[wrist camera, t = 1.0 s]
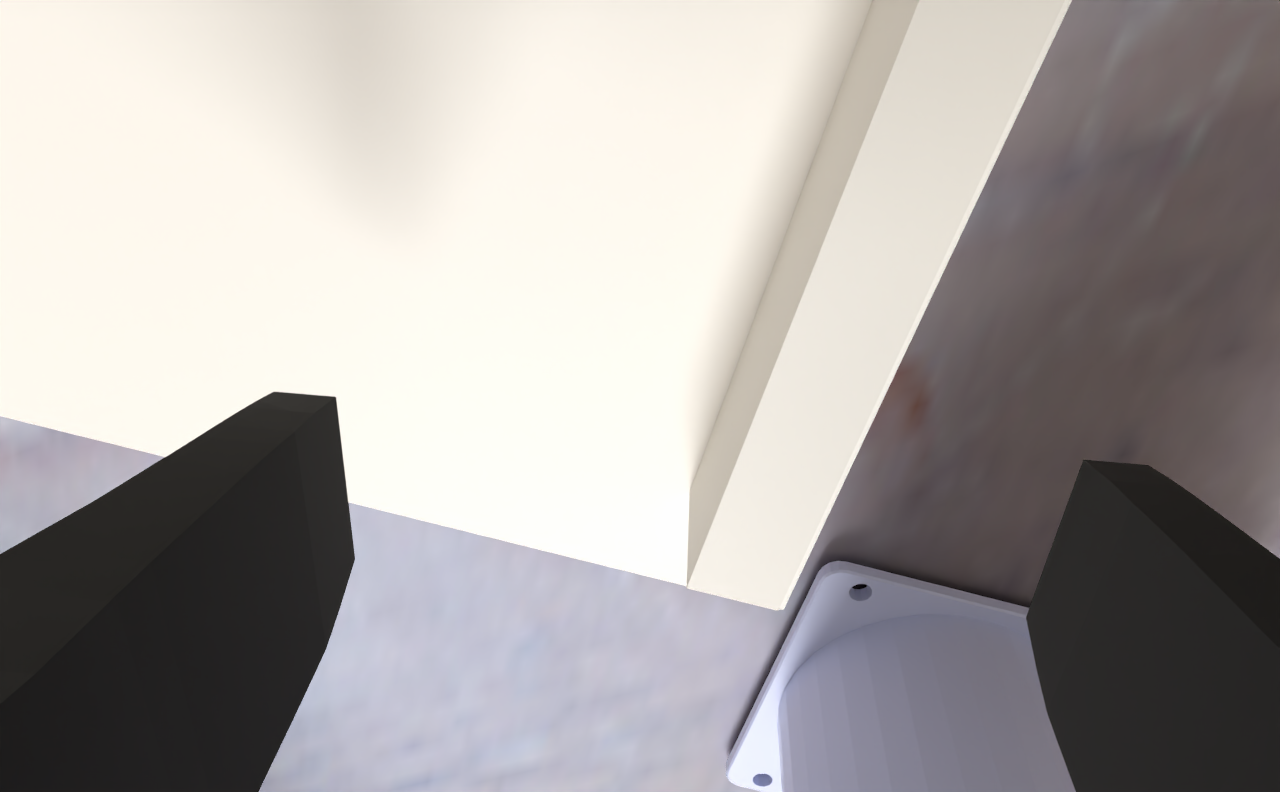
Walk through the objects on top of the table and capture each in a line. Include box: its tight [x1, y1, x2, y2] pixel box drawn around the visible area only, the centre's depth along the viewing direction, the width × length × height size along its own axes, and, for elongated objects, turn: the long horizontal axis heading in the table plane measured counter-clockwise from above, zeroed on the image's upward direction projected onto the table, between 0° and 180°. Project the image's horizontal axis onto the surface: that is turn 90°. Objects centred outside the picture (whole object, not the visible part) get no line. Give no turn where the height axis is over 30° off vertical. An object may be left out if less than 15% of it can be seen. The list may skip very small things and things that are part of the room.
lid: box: [0, 0, 1072, 611], centre depth 11 cm, size 16×12×2 cm
